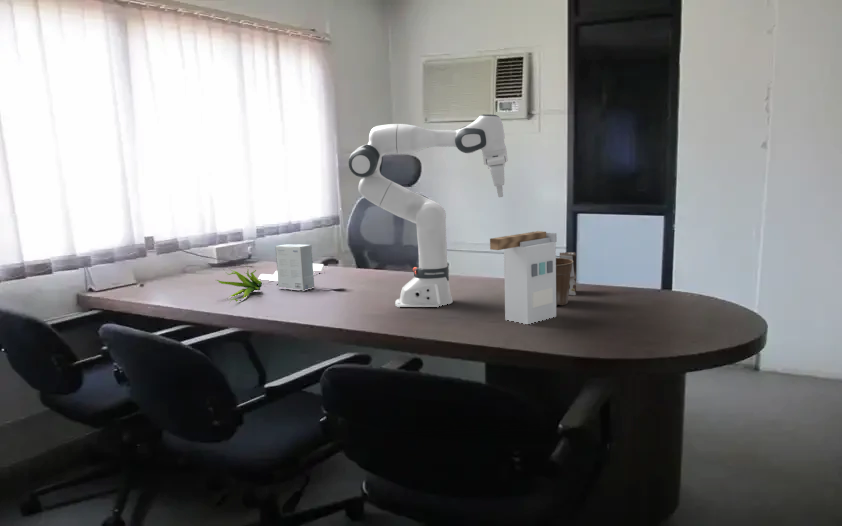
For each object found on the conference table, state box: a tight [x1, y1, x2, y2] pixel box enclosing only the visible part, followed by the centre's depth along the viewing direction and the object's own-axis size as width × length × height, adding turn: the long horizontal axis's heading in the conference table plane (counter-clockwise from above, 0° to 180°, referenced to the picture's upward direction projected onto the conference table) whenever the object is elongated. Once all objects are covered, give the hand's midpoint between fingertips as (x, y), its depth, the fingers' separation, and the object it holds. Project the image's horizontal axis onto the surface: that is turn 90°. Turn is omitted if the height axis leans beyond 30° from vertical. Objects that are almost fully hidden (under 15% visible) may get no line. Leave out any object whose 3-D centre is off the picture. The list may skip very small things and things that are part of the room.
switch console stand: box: [503, 232, 558, 325], centre depth 227 cm, size 16×10×29 cm
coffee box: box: [559, 251, 577, 296], centre depth 267 cm, size 9×6×16 cm
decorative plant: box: [216, 265, 263, 303], centre depth 281 cm, size 18×30×15 cm, turn 147°
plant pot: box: [556, 257, 573, 307], centre depth 251 cm, size 16×16×16 cm
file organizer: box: [257, 263, 325, 281], centre depth 329 cm, size 13×35×5 cm, turn 148°
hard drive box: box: [274, 243, 315, 290], centre depth 298 cm, size 16×8×20 cm, turn 58°
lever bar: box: [489, 230, 547, 251], centre depth 222 cm, size 24×4×4 cm, turn 131°
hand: (500, 195), depth 249 cm, fingers open, 8 cm apart
